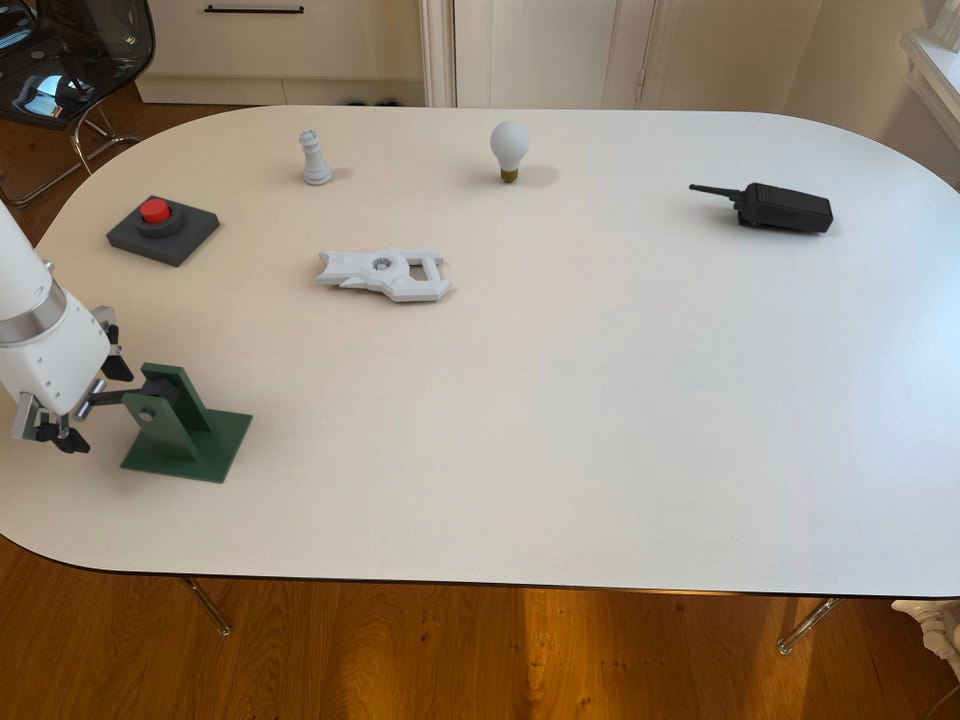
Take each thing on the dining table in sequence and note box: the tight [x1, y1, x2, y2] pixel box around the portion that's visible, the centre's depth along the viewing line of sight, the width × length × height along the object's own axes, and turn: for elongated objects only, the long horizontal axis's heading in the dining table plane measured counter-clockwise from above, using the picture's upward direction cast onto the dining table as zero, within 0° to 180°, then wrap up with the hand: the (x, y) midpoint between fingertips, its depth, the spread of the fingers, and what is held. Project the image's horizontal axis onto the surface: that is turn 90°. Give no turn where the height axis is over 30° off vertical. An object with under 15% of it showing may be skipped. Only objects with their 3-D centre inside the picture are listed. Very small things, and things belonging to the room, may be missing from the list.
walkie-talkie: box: [688, 182, 835, 234], centre depth 101 cm, size 6×6×20 cm
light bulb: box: [489, 120, 530, 183], centre depth 107 cm, size 6×6×10 cm
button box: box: [105, 194, 221, 268], centre depth 103 cm, size 12×10×4 cm
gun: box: [315, 246, 453, 303], centre depth 96 cm, size 18×3×10 cm
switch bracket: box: [120, 361, 254, 484], centre depth 76 cm, size 12×9×12 cm
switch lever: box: [69, 377, 181, 423], centre depth 75 cm, size 12×5×2 cm, turn 80°
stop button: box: [140, 199, 170, 224], centre depth 101 cm, size 4×4×2 cm
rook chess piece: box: [298, 128, 333, 186], centre depth 109 cm, size 4×4×8 cm
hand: (100, 412), depth 78 cm, fingers open, 9 cm apart
